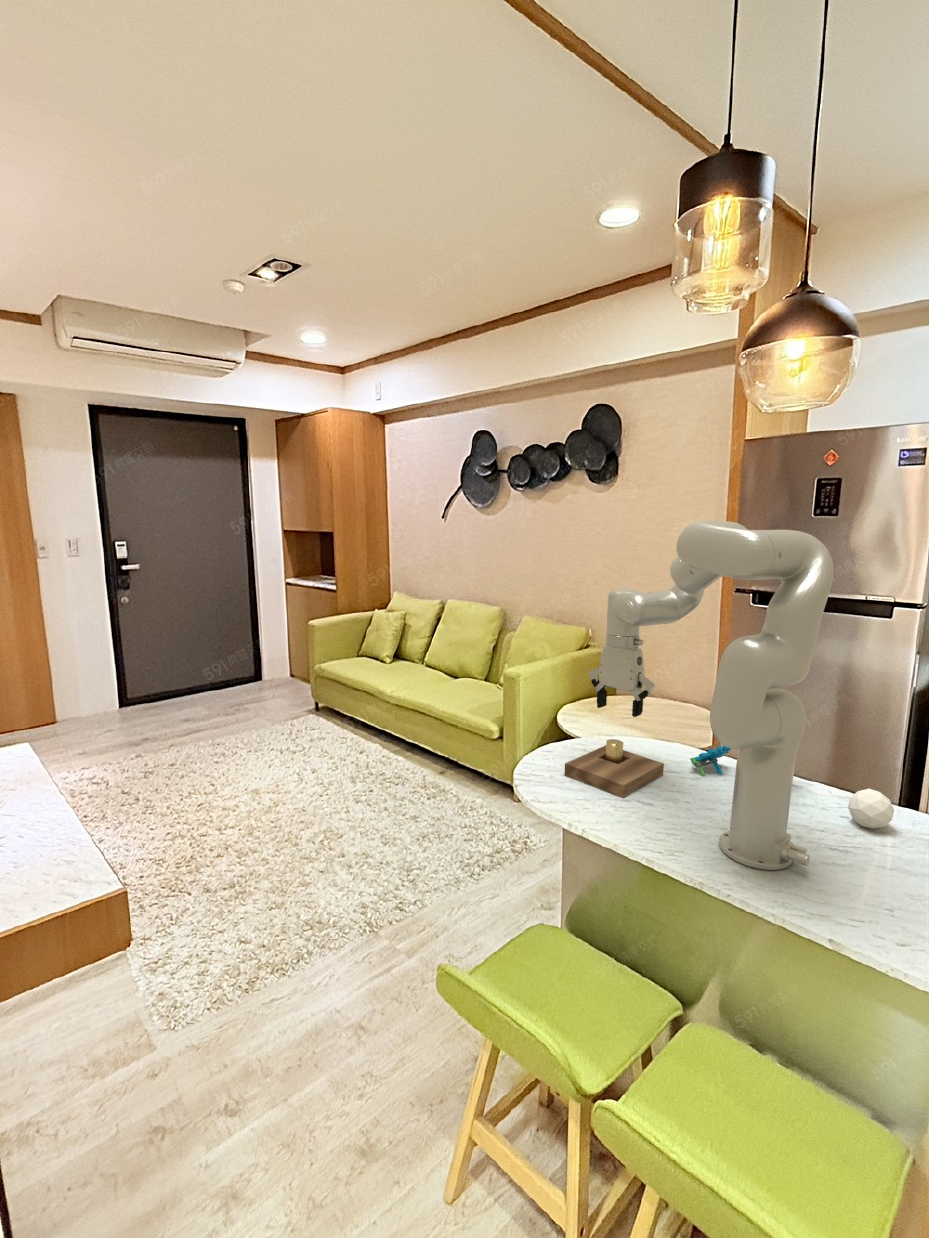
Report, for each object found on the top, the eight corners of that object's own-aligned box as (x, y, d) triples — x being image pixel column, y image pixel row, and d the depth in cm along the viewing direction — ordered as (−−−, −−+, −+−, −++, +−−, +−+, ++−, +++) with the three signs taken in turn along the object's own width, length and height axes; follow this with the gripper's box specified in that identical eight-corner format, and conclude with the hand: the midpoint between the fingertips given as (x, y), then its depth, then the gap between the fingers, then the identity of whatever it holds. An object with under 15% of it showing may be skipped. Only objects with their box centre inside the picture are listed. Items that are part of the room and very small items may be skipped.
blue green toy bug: (716, 754, 160) (735, 738, 152) (728, 776, 157) (748, 761, 149) (679, 764, 157) (697, 749, 149) (691, 786, 154) (709, 772, 146)
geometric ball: (877, 842, 127) (896, 825, 121) (836, 819, 131) (853, 802, 125) (886, 814, 131) (906, 797, 125) (847, 793, 135) (864, 774, 129)
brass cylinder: (624, 769, 154) (626, 742, 153) (615, 774, 151) (617, 746, 150) (610, 764, 157) (612, 738, 156) (601, 768, 154) (603, 741, 153)
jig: (663, 775, 151) (663, 763, 151) (622, 797, 139) (623, 785, 138) (606, 755, 162) (606, 744, 162) (564, 775, 150) (564, 763, 149)
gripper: (663, 644, 145) (659, 716, 147) (600, 634, 157) (597, 700, 160) (647, 649, 139) (643, 722, 142) (582, 638, 152) (580, 706, 154)
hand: (618, 711), depth 151 cm, fingers open, 9 cm apart
